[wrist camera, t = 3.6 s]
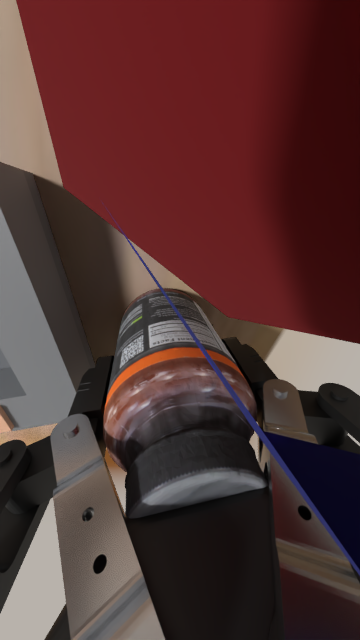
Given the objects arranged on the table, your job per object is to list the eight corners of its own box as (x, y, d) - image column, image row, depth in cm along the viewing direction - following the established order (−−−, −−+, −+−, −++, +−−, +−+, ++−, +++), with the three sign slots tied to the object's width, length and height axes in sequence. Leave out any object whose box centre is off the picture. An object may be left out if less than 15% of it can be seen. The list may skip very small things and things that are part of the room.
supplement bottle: (184, 365, 18) (240, 566, 8) (111, 347, 16) (58, 580, 6) (216, 300, 15) (353, 463, 5) (135, 272, 14) (116, 437, 4)
